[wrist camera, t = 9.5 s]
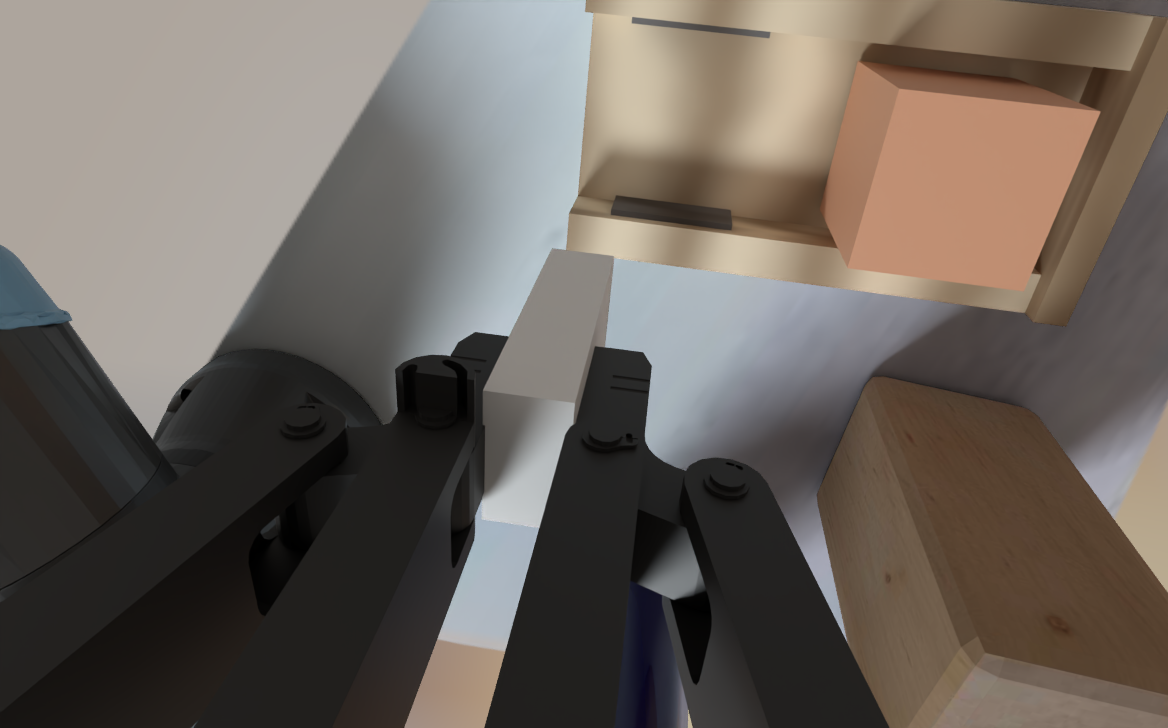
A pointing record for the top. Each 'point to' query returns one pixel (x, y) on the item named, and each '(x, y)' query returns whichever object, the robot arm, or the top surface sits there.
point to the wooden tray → (835, 129)
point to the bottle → (649, 668)
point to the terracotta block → (950, 173)
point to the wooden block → (986, 571)
